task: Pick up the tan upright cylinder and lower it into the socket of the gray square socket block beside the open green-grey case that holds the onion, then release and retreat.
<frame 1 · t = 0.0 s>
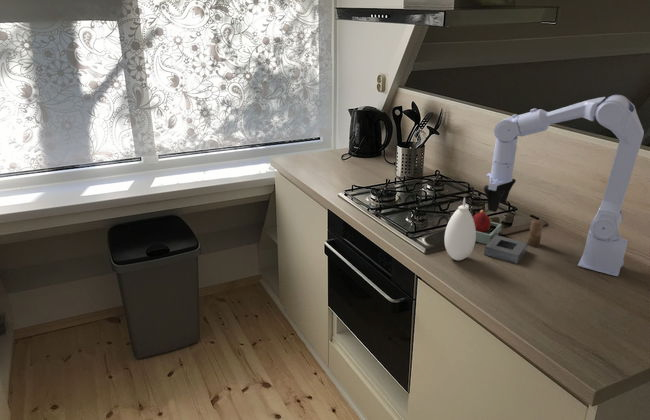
hand: (496, 206, 147), 10 cm above the worktop, fingers open, 7 cm apart
case: (478, 234, 153), on the worktop
onion: (478, 235, 153), resting in case
gray square socket block: (505, 252, 142), on the worktop
sauce bottle: (457, 259, 139), on the worktop
tan upright cylinder: (533, 244, 147), on the worktop
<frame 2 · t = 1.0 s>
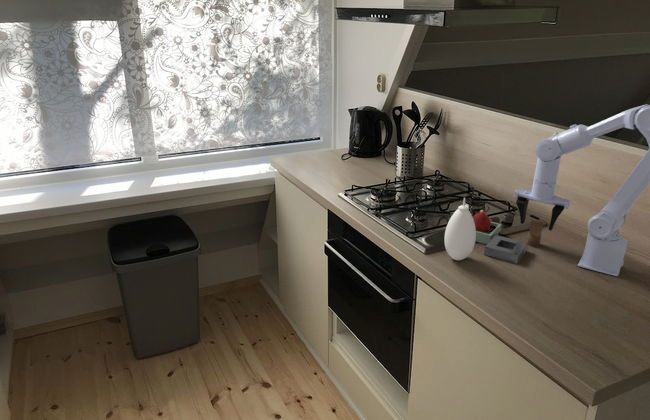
hand: (536, 225, 145), 6 cm above the worktop, fingers open, 7 cm apart
nothing on the worktop moved.
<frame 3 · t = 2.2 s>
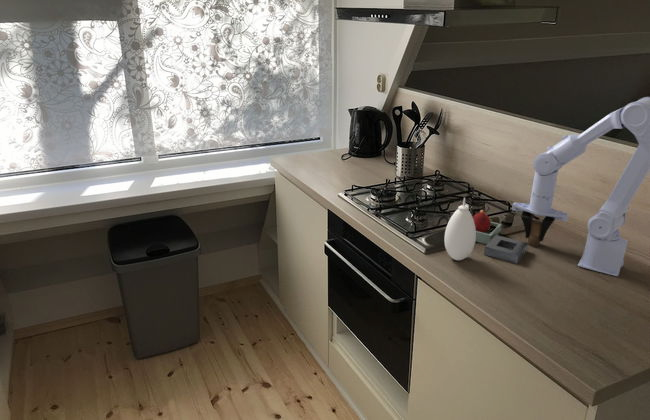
hand: (534, 238, 146), 2 cm above the worktop, fingers closed on tan upright cylinder, 3 cm apart
tan upright cylinder: (533, 244, 147), on the worktop, touching gripper
everything else where it was.
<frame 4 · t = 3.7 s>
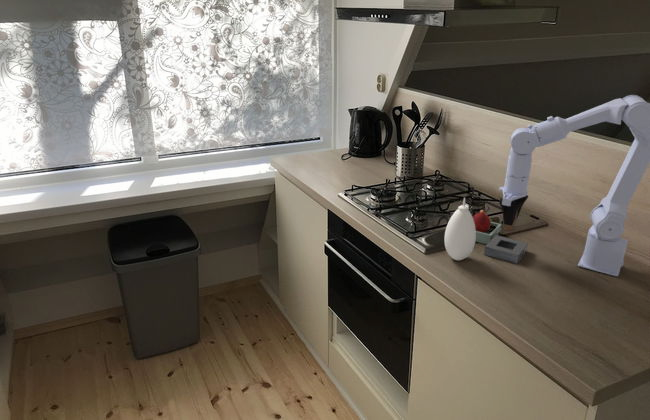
hand: (510, 222, 138), 9 cm above the worktop, fingers closed on tan upright cylinder, 3 cm apart
tan upright cylinder: (508, 228, 139), point 7 cm above the worktop, touching gripper
everything else where it was.
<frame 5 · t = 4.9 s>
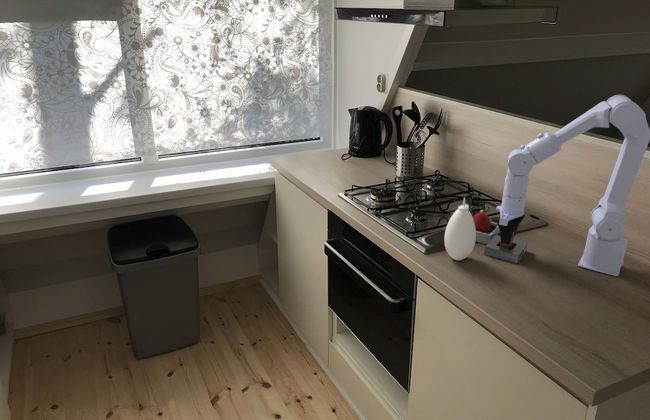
hand: (507, 240, 141), 4 cm above the worktop, fingers closed on tan upright cylinder, 3 cm apart
tan upright cylinder: (505, 246, 141), point 2 cm above the worktop, touching gripper
everything else where it was.
when the fingers open (3 cm above the worktop, at t = 5.4 s): tan upright cylinder drops 1 cm, resting in gray square socket block.
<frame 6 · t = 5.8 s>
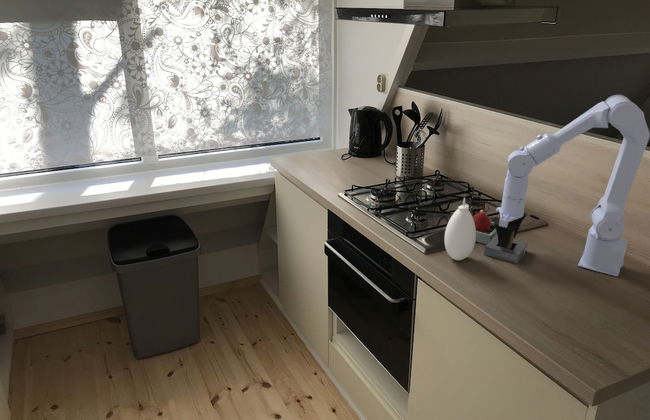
hand: (507, 241, 141), 3 cm above the worktop, fingers open, 7 cm apart
tan upright cylinder: (504, 252, 142), resting in gray square socket block
everything else where it was.
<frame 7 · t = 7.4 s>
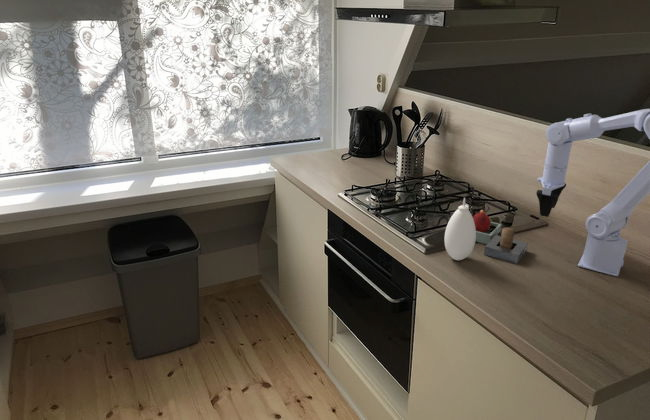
hand: (547, 211, 144), 10 cm above the worktop, fingers open, 7 cm apart
nothing on the worktop moved.
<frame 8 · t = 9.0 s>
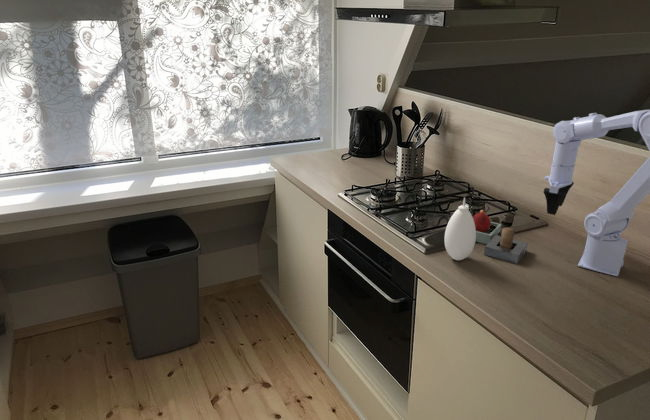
hand: (554, 209, 145), 10 cm above the worktop, fingers open, 7 cm apart
nothing on the worktop moved.
at the end: tan upright cylinder 0.2 cm off-centre on the gray square socket block, point 0.0 cm above the gray square socket block's base; tan upright cylinder tilted 0°; the gripper is holding nothing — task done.
